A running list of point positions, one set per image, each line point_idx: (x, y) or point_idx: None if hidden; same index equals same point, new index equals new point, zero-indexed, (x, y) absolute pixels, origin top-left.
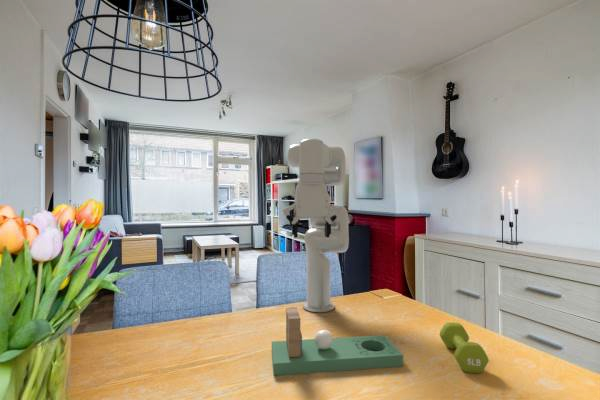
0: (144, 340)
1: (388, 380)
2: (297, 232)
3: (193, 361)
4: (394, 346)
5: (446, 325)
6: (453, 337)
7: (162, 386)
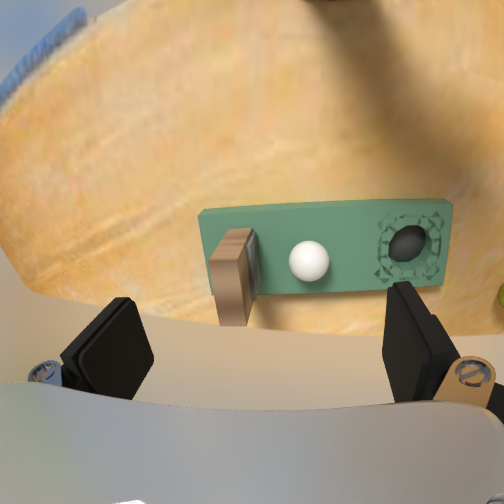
0: (12, 171)
1: None
2: (141, 382)
3: (90, 235)
4: (446, 254)
5: None
6: None
7: (86, 290)
